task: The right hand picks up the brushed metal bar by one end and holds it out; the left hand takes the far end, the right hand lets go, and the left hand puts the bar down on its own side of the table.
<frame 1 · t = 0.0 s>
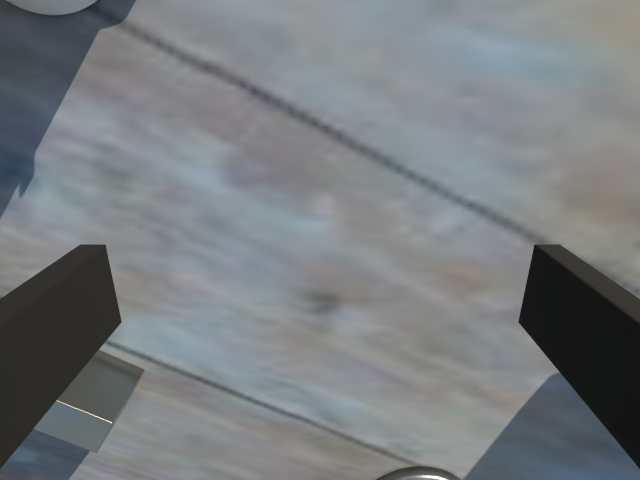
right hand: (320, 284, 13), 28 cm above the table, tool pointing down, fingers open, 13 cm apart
bar: (43, 344, 47), on the table
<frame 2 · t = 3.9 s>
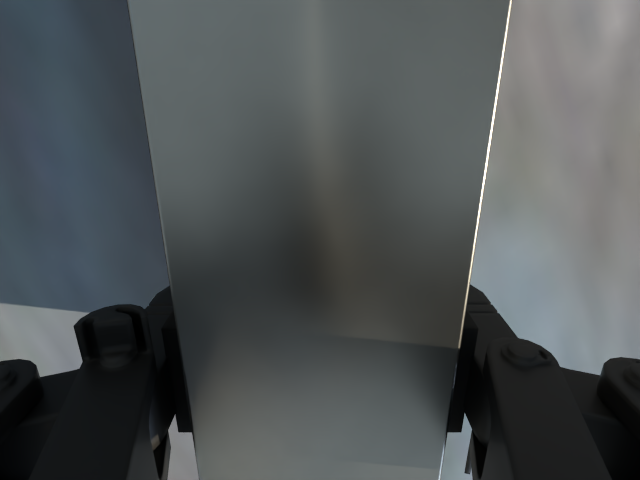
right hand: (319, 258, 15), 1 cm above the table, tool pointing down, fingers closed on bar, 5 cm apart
bar: (319, 7, 12), on the table, touching right hand
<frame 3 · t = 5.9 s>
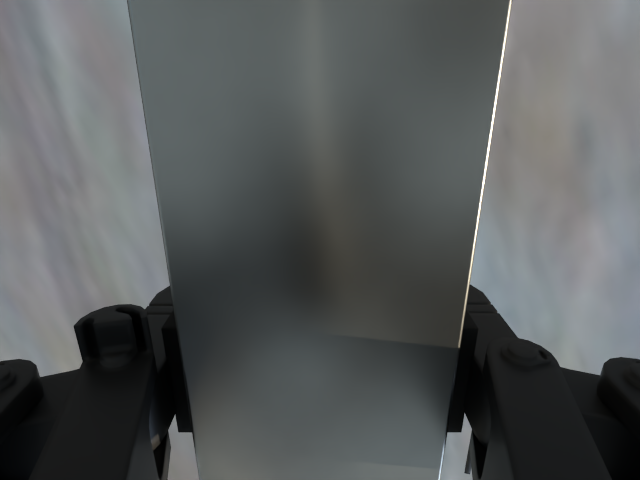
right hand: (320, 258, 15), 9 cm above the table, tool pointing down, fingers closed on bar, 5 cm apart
bar: (319, 6, 12), point 8 cm above the table, touching right hand
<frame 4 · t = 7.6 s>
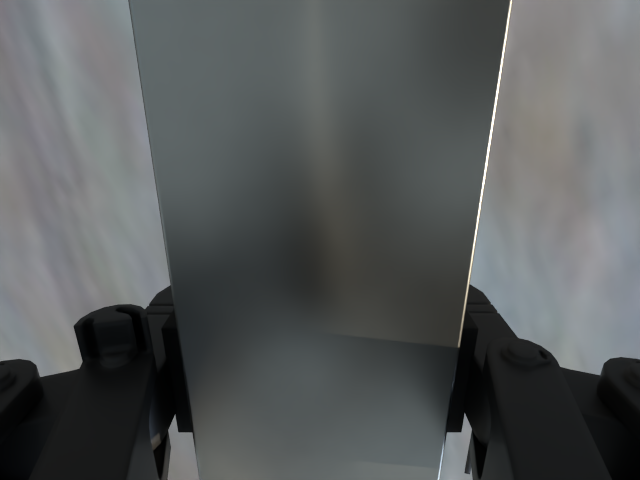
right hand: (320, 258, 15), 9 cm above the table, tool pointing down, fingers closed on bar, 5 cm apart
bar: (320, 6, 12), point 8 cm above the table, touching right hand, left hand
when the right hand's fingers open (9 cm above the table, at t = 8.4 s): bar stays where it is, held by the left hand.
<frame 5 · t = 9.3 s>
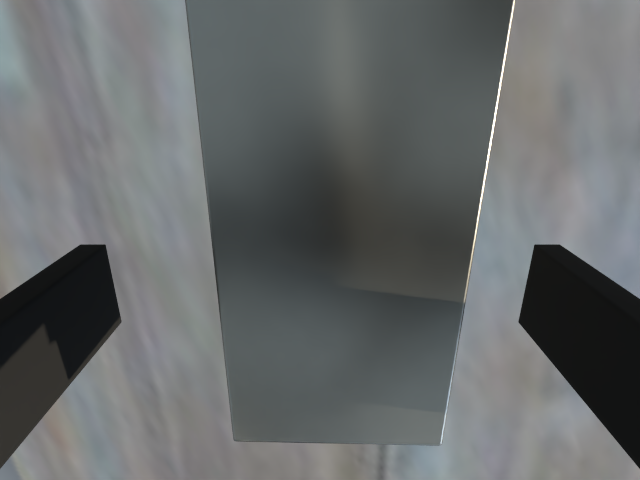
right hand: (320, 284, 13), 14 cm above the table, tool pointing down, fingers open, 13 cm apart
when the left hand's fingers open (4 cm above the table, at t = 13.8 s): bar drops 1 cm, on the table.
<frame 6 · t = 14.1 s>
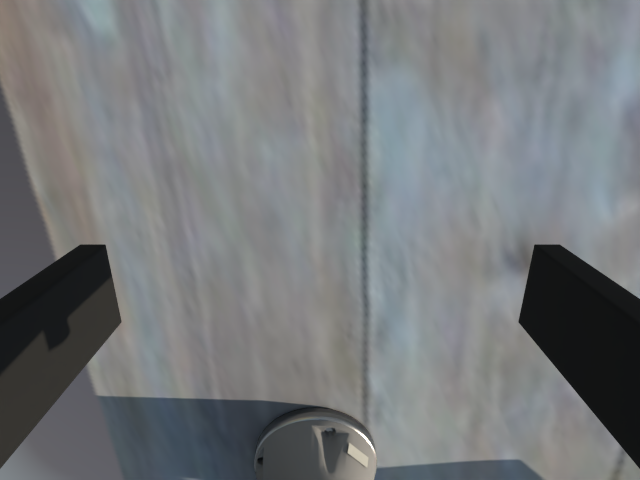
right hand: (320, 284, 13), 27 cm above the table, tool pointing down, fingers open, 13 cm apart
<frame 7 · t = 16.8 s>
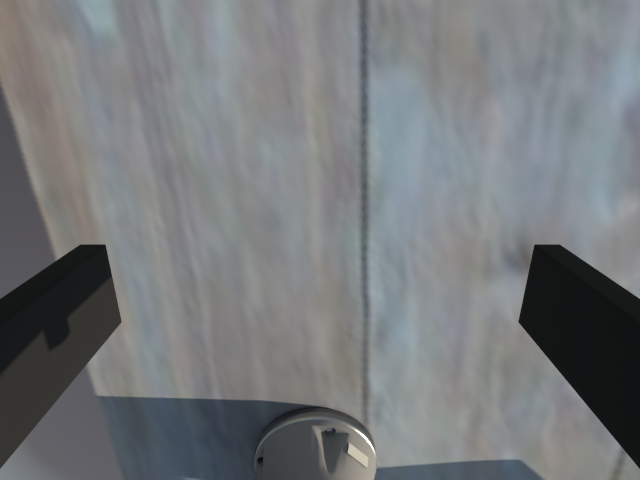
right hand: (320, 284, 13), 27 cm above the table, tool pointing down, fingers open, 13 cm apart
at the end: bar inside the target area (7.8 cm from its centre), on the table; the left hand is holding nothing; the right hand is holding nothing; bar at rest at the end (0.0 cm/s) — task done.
